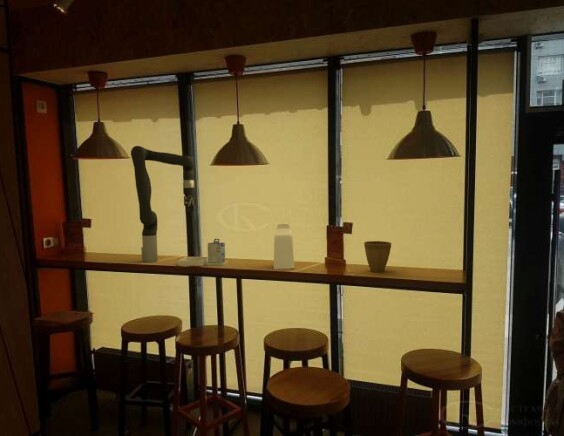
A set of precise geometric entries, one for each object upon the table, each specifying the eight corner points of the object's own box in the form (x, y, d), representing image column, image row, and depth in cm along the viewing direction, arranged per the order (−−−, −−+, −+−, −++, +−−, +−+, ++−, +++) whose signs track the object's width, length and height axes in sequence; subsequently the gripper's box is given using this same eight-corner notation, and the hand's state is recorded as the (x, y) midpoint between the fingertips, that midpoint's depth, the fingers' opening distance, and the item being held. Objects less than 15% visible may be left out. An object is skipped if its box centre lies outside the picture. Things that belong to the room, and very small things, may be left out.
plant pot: (374, 274, 238) (374, 245, 236) (359, 269, 251) (359, 241, 250) (396, 271, 243) (397, 243, 242) (381, 267, 257) (381, 240, 256)
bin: (178, 265, 274) (178, 260, 274) (186, 261, 288) (185, 256, 288) (201, 265, 272) (201, 260, 272) (208, 261, 286) (208, 256, 286)
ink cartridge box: (225, 261, 280) (225, 238, 278) (221, 263, 274) (221, 239, 273) (211, 260, 283) (210, 238, 281) (207, 262, 277) (206, 239, 276)
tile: (205, 265, 274) (205, 263, 274) (209, 262, 284) (209, 260, 284) (223, 265, 272) (223, 263, 272) (228, 262, 282) (228, 260, 282)
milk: (273, 269, 258) (272, 224, 256) (274, 265, 269) (273, 222, 267) (294, 268, 258) (293, 224, 255) (294, 265, 269) (293, 222, 267)
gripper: (187, 187, 297) (188, 211, 299) (179, 187, 283) (180, 212, 285) (197, 186, 296) (198, 210, 298) (190, 187, 282) (191, 212, 284)
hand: (189, 211), depth 291 cm, fingers open, 8 cm apart
